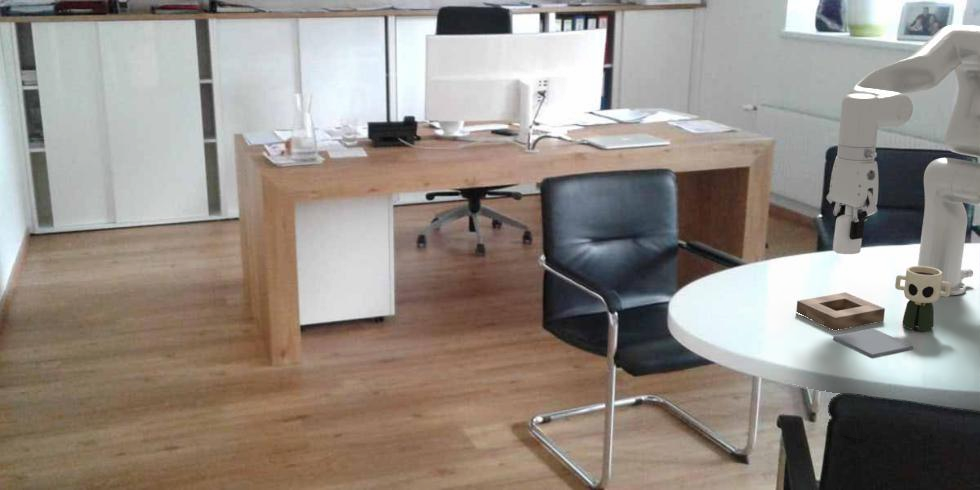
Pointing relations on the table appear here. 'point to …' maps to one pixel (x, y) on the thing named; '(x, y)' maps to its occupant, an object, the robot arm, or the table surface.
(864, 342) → the slate mat
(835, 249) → the eye dropper bottle
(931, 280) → the character mug
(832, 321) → the walnut dock
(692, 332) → the table surface
